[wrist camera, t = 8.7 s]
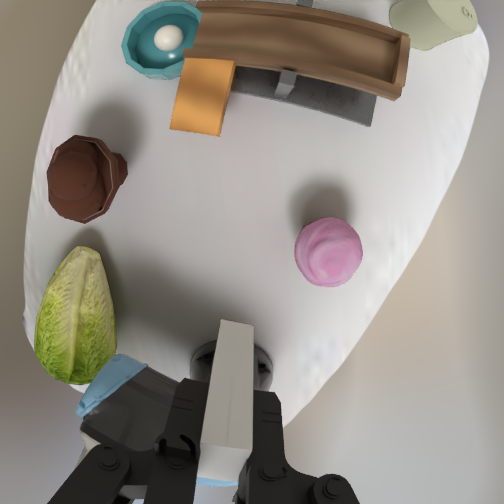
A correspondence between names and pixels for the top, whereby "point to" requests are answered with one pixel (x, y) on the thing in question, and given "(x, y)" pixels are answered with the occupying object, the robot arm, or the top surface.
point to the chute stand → (305, 90)
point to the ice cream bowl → (84, 178)
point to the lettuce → (76, 320)
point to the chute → (282, 55)
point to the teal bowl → (142, 39)
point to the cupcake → (328, 252)
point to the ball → (168, 38)
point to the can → (433, 21)
